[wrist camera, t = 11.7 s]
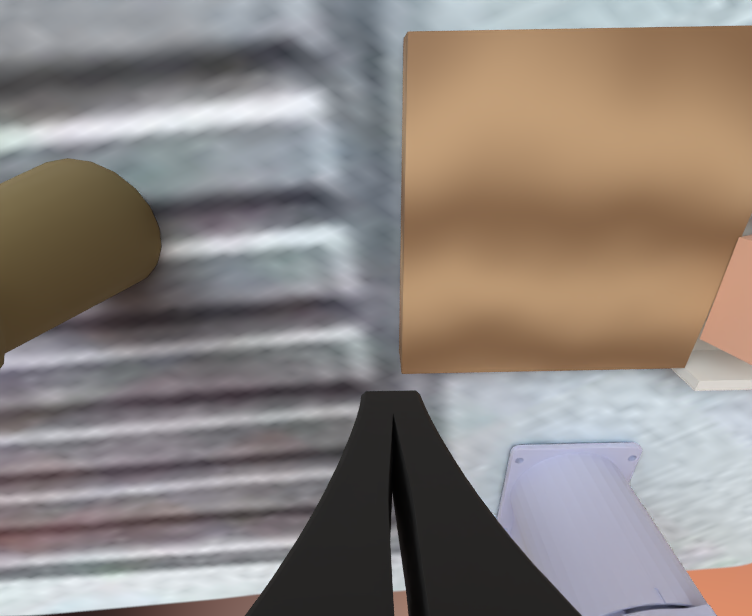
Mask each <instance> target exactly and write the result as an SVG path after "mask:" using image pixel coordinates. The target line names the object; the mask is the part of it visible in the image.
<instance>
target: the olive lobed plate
mask: <svg viewBox="0 0 752 616" xmlns="http://www.w3.org/2000/svg"><path fill="white" fill-rule="evenodd" d="M160 251H161V240H160V231H159V226H158V224H157V222H156V219H155V217H154V215H153V213H152V210H151V208H150V206H149V205H148V204H147V203H146V201H145V200H144V199H143V198H142V196H141V195H140V194H139V193H138V191H137V190H136V189H135V188H134V187H133V186H132V185H130V184H129V183H128V182H126V181H125V180H124V179H123V178H121V177H120V176H119V175H117V174H116V173H115V172H113V171H111V170H108V169H106V168H104V167H102V166H99V165H97V164H95V163H93V162H89V161H82V160H75V159H68V158H67V159H62V160H56V161H51V162H46V163H44V164H42V165H40V166H37V167H35V168H33V169H31V170H29V171H27V172H25V173H22V174H20V175H18V176H16V177H14V178H12V179H9V180H7V181H5V182H3V183H1V184H0V368H1V367H2V365H3V364H4V355H5V353H7V352H9V351H10V350H12V349H14V348H16V347H18V346H20V345H22V344H24V343H25V342H27V341H29V340H31V339H33V338H35V337H37V336H39V335H41V334H42V333H44V332H46V331H48V330H50V329H52V328H54V327H56V326H57V325H59V324H61V323H63V322H65V321H67V320H69V319H71V318H72V317H74V316H76V315H78V314H80V313H82V312H84V311H86V310H87V309H89V308H91V307H93V306H95V305H97V304H99V303H101V302H103V301H104V300H106V299H108V298H110V297H112V296H114V295H116V294H118V293H119V292H121V291H123V290H125V289H127V288H129V287H131V286H133V285H134V284H136V283H138V282H140V281H142V280H143V279H145V278H147V277H148V275H149V274H150V273H151V271H152V270H153V269H154V268H155V266H156V265H157V262H158V258H159V255H160Z"/></svg>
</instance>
